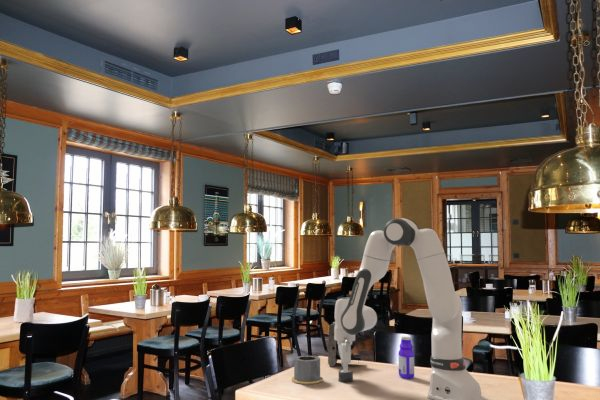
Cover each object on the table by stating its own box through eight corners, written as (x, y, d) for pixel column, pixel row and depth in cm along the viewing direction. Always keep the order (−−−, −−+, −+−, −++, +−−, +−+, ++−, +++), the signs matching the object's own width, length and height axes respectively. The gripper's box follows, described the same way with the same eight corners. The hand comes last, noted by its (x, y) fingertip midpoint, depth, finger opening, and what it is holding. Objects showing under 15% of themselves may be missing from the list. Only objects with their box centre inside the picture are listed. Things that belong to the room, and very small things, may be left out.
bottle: (417, 378, 221) (416, 337, 222) (405, 380, 219) (405, 337, 220) (407, 374, 227) (406, 334, 229) (396, 376, 225) (395, 335, 227)
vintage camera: (360, 369, 240) (361, 325, 241) (327, 366, 243) (328, 323, 245) (362, 364, 249) (363, 322, 251) (330, 362, 252) (331, 320, 254)
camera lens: (355, 381, 216) (355, 371, 217) (343, 383, 213) (343, 373, 214) (347, 378, 222) (347, 368, 222) (335, 380, 219) (335, 370, 219)
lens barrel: (328, 382, 215) (328, 359, 216) (301, 386, 209) (301, 363, 210) (312, 375, 226) (312, 354, 227) (286, 378, 220) (286, 357, 221)
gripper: (354, 340, 209) (354, 375, 208) (350, 331, 229) (349, 363, 228) (338, 340, 209) (338, 375, 208) (335, 331, 229) (335, 363, 228)
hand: (344, 369), depth 218 cm, fingers open, 8 cm apart
